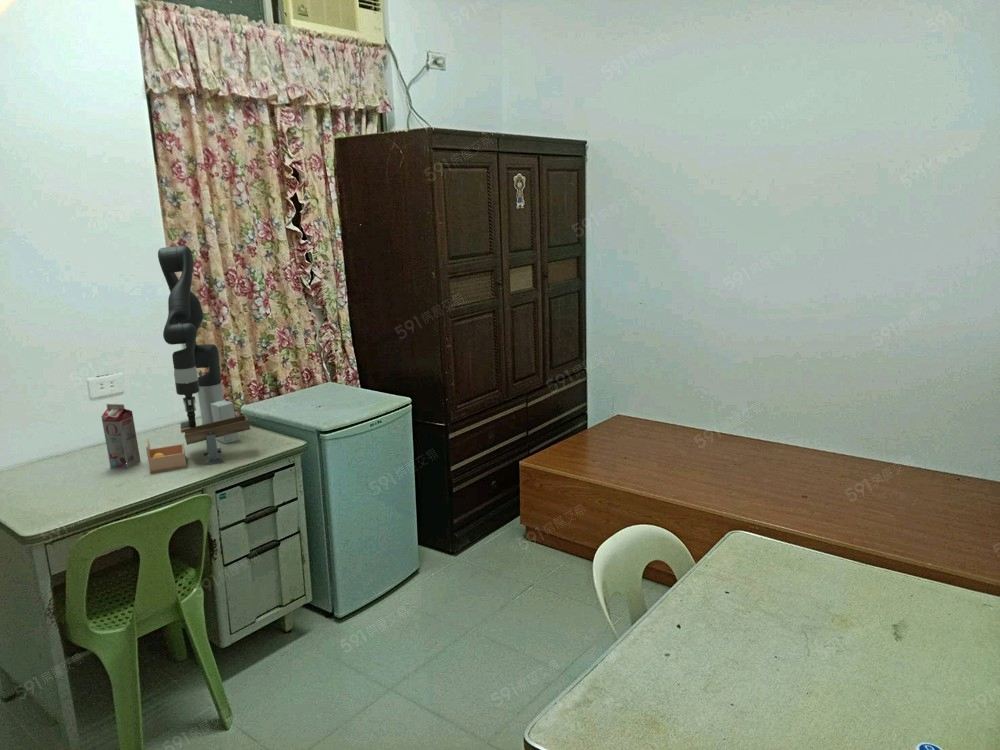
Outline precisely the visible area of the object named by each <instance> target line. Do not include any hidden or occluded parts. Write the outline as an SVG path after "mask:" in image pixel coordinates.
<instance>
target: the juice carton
mask: <svg viewBox="0 0 1000 750" xmlns="http://www.w3.org/2000/svg"><path fill="white" fill-rule="evenodd" d="M133 415H134V414H133V410H130V409H127V408H125V404H123V403H122V404H117V403H106V409H105V411H104V412H103V413H102V415H101V422H102V429H103V433H104V440H105V445H106V449H107V455H108V461H109V467H110V469H120V468H121V469H122V470H123V469H125V470H128V469H129V468H130V469H131V467H134V466H136V465H138V464H139V462H140V463H141V462H142V461H141V456H140V450H139V449H140V448H139V444H138V439H137V438H138V437H137V433H136V427H135V422H134V420H135V419H134V416H133ZM126 463H127V464H126ZM121 469H120V470H121Z"/></svg>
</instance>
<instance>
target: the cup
mask: <svg viewBox="0 0 1000 750" xmlns="http://www.w3.org/2000/svg"><path fill="white" fill-rule="evenodd" d="M145 445H146V446H145V448H146V449H145V450H146V455H147V462H148V469H149V473H150V474H154V473H159V472H166V471H171V470H177V469H183V468H184V469H185V468H187V457H186V451H185V444H184V443H180V444H174V445H169V446H162V447H156V448H155V447H154V448H151V444H150V439H149V438H146V444H145ZM156 453H162V454H164V455H165V456H161V457H155V458H153V456H154V455H155V454H156Z"/></svg>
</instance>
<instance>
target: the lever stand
mask: <svg viewBox="0 0 1000 750" xmlns="http://www.w3.org/2000/svg"><path fill="white" fill-rule="evenodd" d="M205 442H206V450H202V451H203V452H202V453H203V456H208V459H205V460H204V465H205V466H208V465H214V464H218V463H219V464H220V463H224V462H225V461H224V457H223V456H222V457H219V454H220V453H222V448H221V447H219V448H218V445H217V438H216V436H215V433H214V434H208V435H206V440H205Z"/></svg>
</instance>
